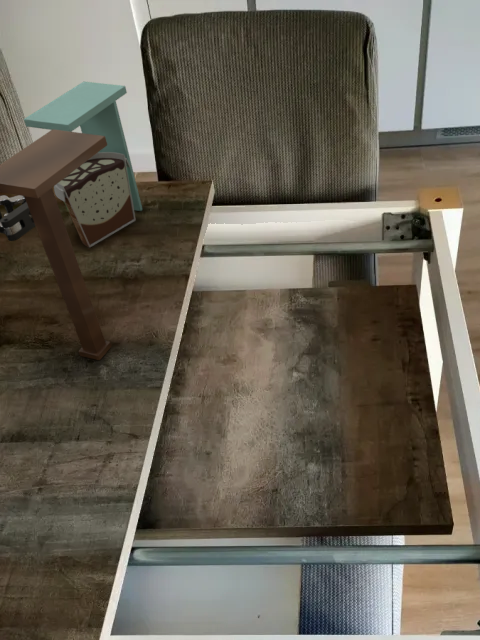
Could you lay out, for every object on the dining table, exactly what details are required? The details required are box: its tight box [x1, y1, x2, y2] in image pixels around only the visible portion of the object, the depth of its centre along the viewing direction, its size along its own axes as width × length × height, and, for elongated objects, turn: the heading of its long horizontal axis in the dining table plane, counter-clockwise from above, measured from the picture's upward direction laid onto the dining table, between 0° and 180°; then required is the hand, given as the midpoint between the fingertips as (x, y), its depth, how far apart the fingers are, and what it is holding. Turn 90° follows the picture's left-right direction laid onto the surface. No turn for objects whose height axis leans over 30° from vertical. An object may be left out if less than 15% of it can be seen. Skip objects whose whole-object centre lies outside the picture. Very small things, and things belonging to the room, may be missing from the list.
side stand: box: [0, 129, 113, 361], centre depth 76 cm, size 7×12×22 cm, turn 160°
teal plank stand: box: [23, 81, 143, 212], centre depth 96 cm, size 7×14×18 cm, turn 160°
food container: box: [53, 152, 137, 248], centre depth 97 cm, size 12×6×10 cm, turn 145°
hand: (19, 184), depth 83 cm, fingers open, 8 cm apart
